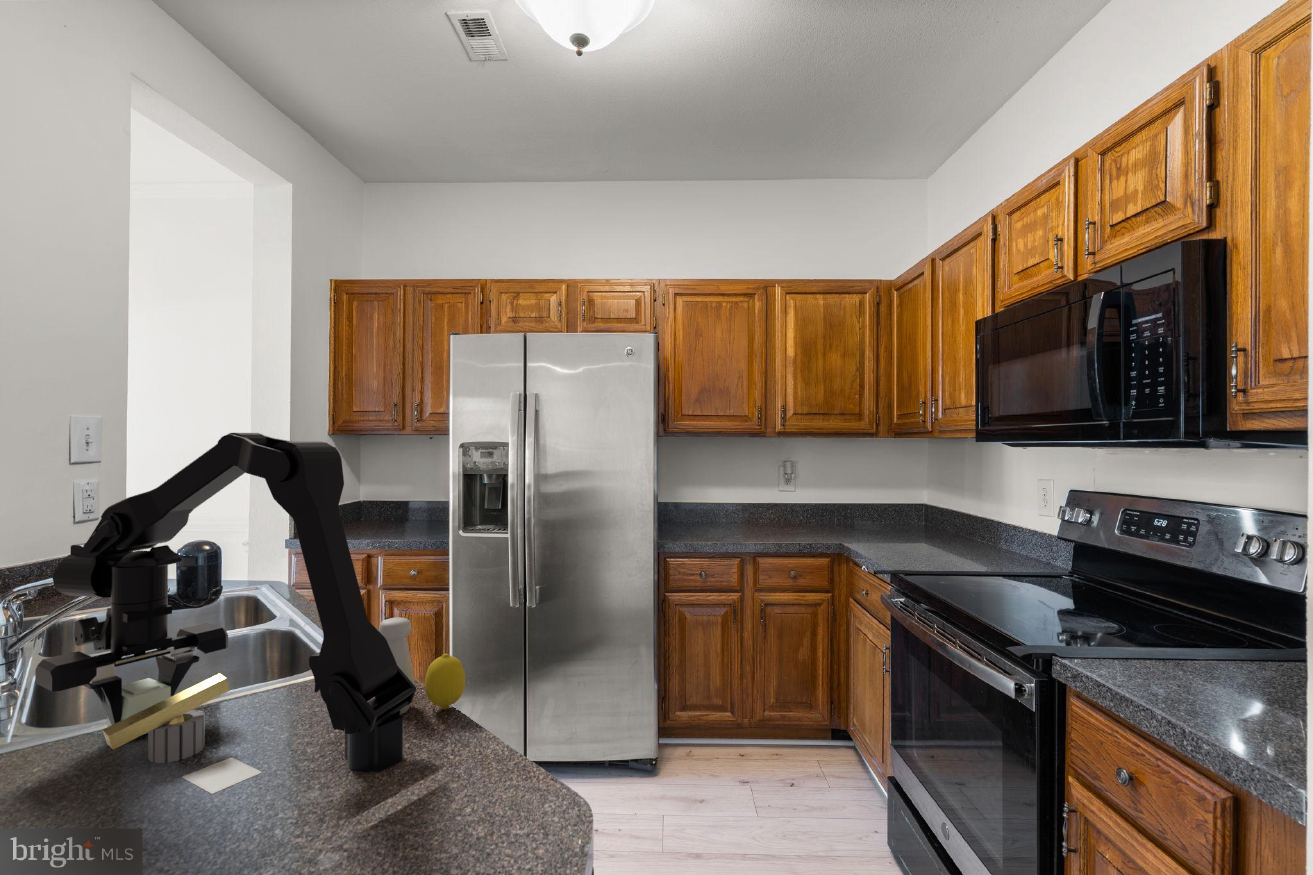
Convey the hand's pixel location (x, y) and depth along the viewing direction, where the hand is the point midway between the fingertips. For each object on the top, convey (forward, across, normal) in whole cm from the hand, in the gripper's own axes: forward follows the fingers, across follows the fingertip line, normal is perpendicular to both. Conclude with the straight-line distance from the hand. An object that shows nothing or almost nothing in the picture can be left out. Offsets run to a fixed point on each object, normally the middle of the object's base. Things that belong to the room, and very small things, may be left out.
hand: (139, 720), depth 83 cm
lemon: (+3, -27, +26) cm, 38 cm away
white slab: (+3, 0, +15) cm, 15 cm away
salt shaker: (+3, -23, +20) cm, 31 cm away
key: (+1, 0, +10) cm, 10 cm away
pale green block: (+1, 0, 0) cm, 1 cm away
